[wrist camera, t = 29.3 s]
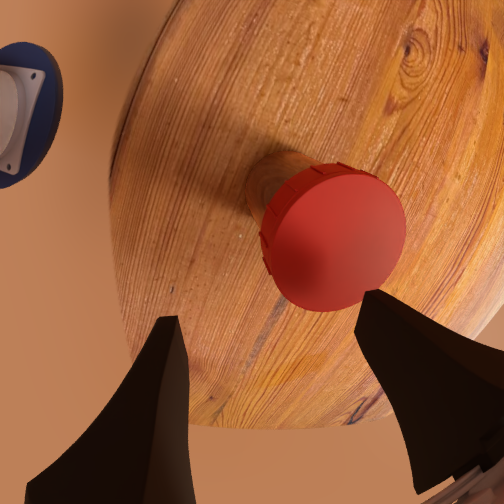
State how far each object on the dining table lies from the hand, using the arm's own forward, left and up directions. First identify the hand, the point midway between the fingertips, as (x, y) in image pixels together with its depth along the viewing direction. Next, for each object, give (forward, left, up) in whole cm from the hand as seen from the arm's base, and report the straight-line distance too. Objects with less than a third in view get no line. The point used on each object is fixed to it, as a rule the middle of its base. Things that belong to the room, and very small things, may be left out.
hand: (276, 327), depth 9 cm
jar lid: (+2, +3, -2) cm, 4 cm away
